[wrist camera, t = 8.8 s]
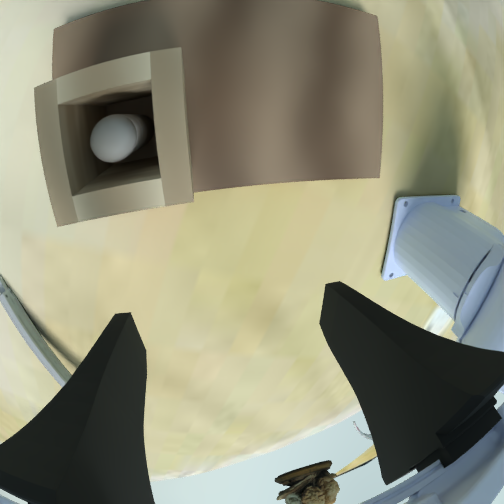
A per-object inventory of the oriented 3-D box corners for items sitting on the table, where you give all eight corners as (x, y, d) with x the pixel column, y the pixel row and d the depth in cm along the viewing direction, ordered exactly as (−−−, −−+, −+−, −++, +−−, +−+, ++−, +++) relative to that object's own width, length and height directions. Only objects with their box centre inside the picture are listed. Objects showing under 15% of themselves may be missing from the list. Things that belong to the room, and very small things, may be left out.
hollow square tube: (184, 73, 12) (180, 47, 6) (192, 168, 14) (194, 201, 9) (88, 94, 11) (34, 87, 6) (100, 185, 13) (57, 227, 8)
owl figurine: (272, 482, 59) (286, 526, 44) (268, 475, 53) (284, 527, 38) (329, 465, 61) (347, 507, 46) (333, 456, 55) (354, 504, 40)
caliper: (127, 404, 26) (125, 450, 21) (120, 406, 26) (118, 450, 21) (2, 273, 15) (-32, 320, 10) (-4, 277, 15) (-36, 323, 10)
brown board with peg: (365, 20, 12) (439, 0, 6) (367, 172, 18) (440, 208, 12) (63, 34, 9) (2, 4, 3) (81, 206, 15) (29, 264, 9)
